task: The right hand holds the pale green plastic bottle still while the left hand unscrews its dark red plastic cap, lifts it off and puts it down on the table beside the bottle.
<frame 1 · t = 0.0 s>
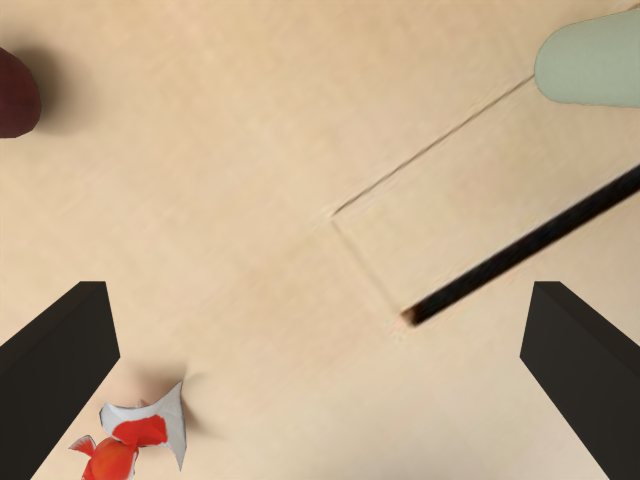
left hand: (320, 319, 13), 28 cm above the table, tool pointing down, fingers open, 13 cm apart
bottle: (571, 64, 36), on the table
fish: (146, 409, 49), on the table
potato: (18, 92, 37), on the table
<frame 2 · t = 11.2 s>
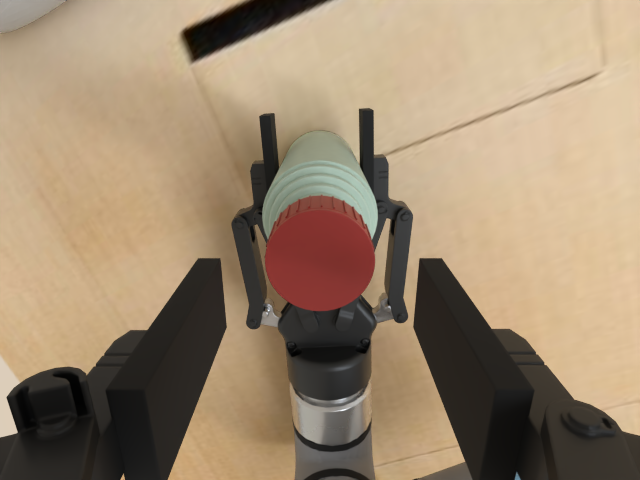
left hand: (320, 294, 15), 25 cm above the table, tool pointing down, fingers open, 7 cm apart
right hand: (316, 112, 30), fingers closed on bottle, 6 cm apart
bottle: (320, 166, 38), on the table, touching right hand
cap: (320, 260, 17), point 21 cm above the table, screwed on, not yet turned
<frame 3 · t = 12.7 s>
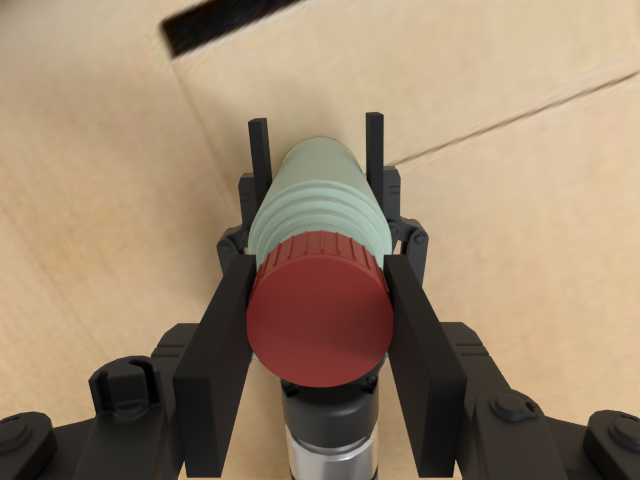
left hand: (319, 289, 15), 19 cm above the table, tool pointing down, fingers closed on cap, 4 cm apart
right hand: (315, 117, 25), fingers closed on bottle, 6 cm apart
bottle: (320, 177, 33), on the table, touching right hand
cap: (319, 321, 13), point 21 cm above the table, screwed on, not yet turned, touching left hand
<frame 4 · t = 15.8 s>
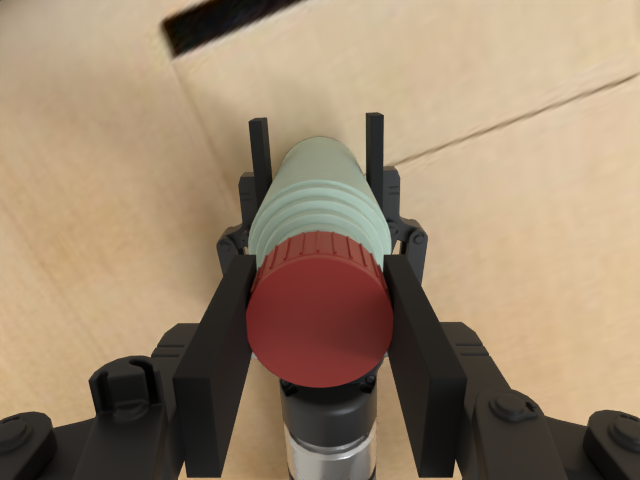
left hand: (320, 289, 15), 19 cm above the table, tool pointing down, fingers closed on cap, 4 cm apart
right hand: (316, 117, 25), fingers closed on bottle, 6 cm apart
bottle: (319, 177, 33), on the table, touching right hand
cap: (319, 321, 13), point 22 cm above the table, turned 106° so far, risen 0.1 cm, still on its thread, touching left hand
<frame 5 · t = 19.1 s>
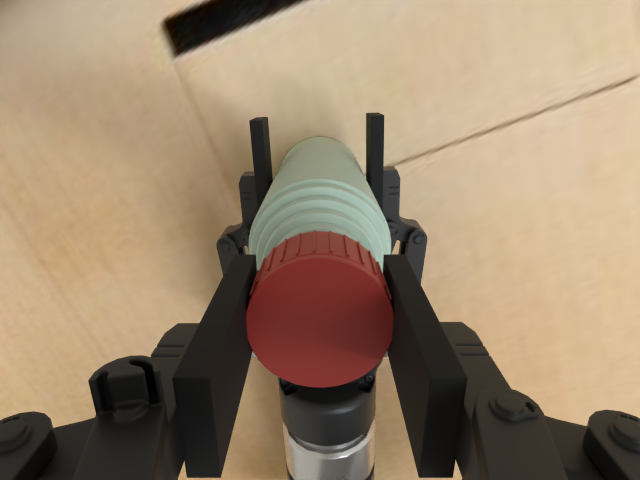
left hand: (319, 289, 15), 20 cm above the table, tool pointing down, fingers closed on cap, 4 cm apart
right hand: (316, 117, 25), fingers closed on bottle, 6 cm apart
bottle: (319, 177, 33), on the table, touching right hand
cap: (319, 321, 13), point 22 cm above the table, turned 212° so far, risen 0.2 cm, still on its thread, touching left hand
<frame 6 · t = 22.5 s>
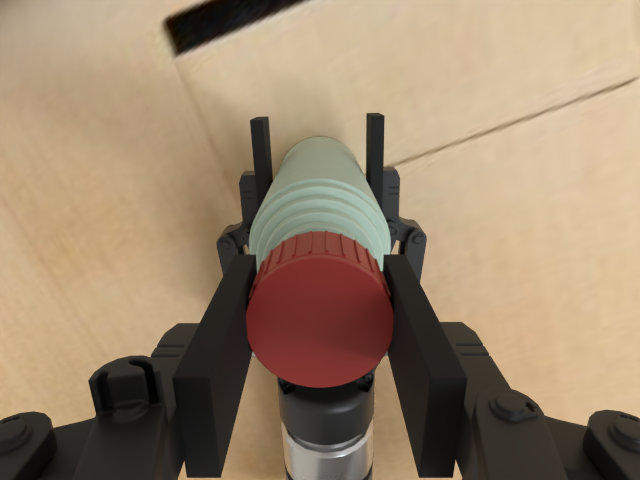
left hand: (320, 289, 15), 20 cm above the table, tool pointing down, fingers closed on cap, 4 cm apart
right hand: (317, 117, 26), fingers closed on bottle, 6 cm apart
bottle: (319, 177, 33), on the table, touching right hand
cap: (319, 321, 13), point 22 cm above the table, turned 319° so far, risen 0.3 cm, still on its thread, touching left hand
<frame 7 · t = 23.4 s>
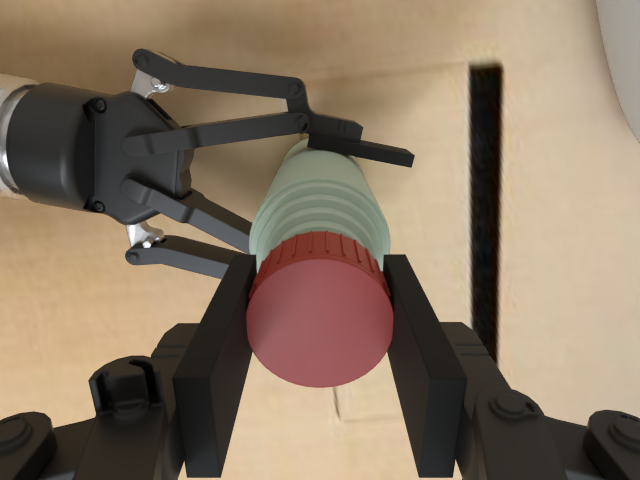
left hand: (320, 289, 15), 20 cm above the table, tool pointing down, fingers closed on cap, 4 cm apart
right hand: (393, 210, 28), fingers closed on bottle, 6 cm apart
bottle: (319, 176, 33), on the table, touching right hand
cap: (319, 321, 13), point 22 cm above the table, off its thread, touching left hand
when the left hand's fingers open (2 cm above the table, at t = 28.8 s): cap drops 2 cm, point 2 cm above the table.
when the right hand's fingers open (6 cm above the table, at t = 30.0 s): bottle stays where it is, on the table.
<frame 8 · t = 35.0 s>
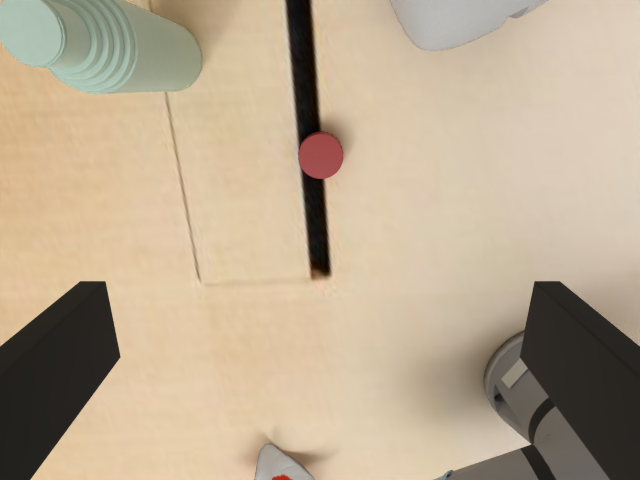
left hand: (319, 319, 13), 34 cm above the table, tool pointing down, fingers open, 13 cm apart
bottle: (169, 57, 41), on the table
fish: (279, 475, 61), on the table
cap: (320, 156, 43), point 2 cm above the table, off its thread
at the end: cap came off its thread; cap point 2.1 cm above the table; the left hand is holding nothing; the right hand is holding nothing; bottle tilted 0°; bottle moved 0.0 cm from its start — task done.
